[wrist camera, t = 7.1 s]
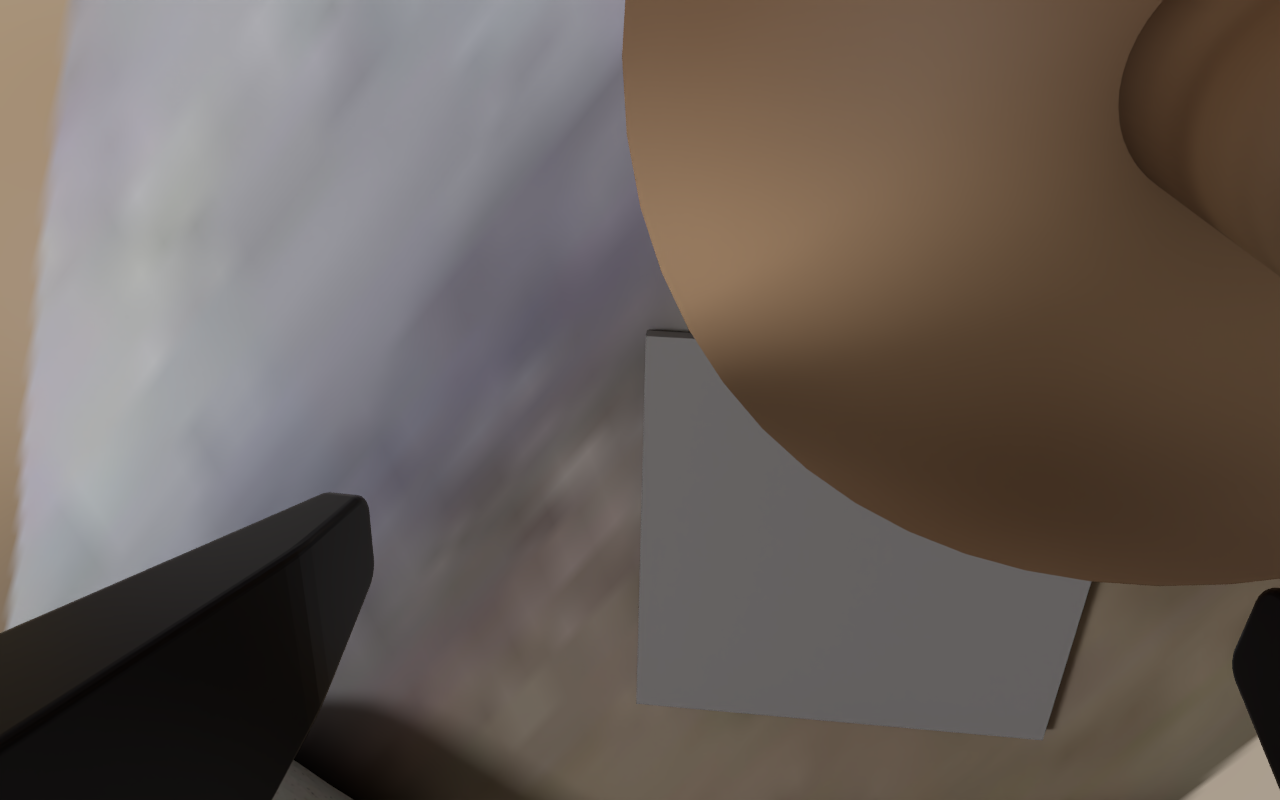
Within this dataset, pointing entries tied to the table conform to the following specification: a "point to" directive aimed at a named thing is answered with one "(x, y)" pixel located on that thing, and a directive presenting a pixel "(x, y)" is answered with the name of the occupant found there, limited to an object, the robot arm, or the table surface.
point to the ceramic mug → (306, 786)
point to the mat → (819, 586)
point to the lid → (987, 261)
